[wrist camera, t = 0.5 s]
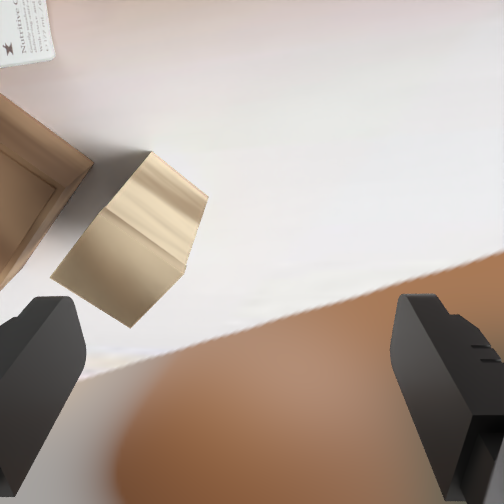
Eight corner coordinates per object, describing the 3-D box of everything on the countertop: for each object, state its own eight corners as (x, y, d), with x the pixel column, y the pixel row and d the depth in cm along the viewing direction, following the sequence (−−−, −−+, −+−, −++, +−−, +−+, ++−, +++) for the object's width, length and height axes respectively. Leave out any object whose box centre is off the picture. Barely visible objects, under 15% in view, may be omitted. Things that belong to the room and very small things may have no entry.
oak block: (151, 150, 28) (98, 213, 20) (209, 196, 30) (183, 274, 21) (112, 200, 30) (49, 277, 22) (168, 241, 32) (130, 328, 23)
